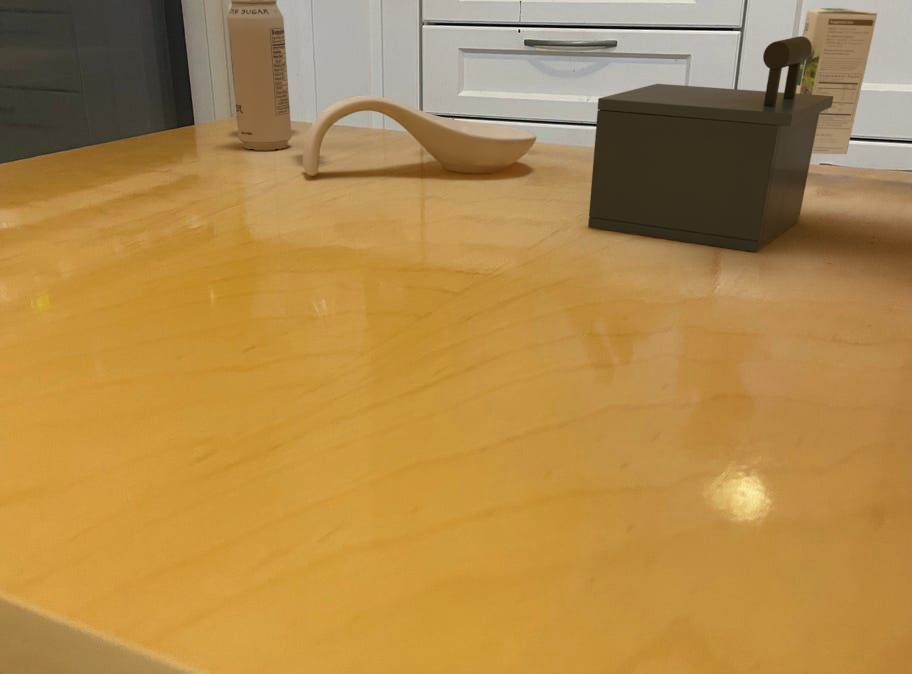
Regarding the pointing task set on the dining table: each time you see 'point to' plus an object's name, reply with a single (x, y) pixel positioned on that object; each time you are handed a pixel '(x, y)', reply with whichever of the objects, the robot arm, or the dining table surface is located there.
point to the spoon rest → (430, 136)
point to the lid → (733, 94)
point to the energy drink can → (259, 74)
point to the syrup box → (836, 70)
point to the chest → (699, 178)
